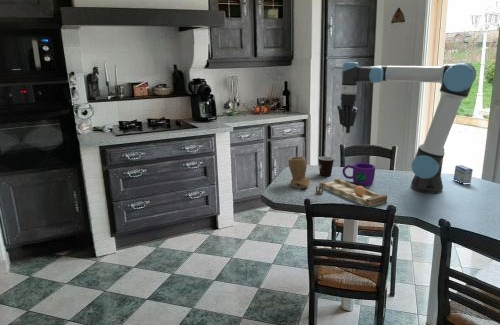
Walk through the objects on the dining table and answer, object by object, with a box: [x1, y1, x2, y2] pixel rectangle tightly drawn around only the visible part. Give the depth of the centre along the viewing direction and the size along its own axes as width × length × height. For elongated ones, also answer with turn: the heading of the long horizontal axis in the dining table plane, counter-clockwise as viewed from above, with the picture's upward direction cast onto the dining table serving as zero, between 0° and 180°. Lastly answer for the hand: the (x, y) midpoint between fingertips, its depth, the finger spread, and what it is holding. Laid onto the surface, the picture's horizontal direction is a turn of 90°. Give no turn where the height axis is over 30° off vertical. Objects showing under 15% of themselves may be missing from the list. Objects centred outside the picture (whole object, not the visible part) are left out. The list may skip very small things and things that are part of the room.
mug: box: [341, 162, 376, 187], centre depth 211 cm, size 17×11×10 cm, turn 59°
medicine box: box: [453, 164, 474, 184], centre depth 211 cm, size 8×4×9 cm, turn 13°
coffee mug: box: [318, 156, 335, 178], centre depth 225 cm, size 12×9×10 cm
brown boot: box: [288, 156, 311, 190], centre depth 207 cm, size 15×12×15 cm
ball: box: [354, 185, 366, 196], centre depth 190 cm, size 5×5×5 cm
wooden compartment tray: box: [318, 177, 388, 207], centre depth 195 cm, size 34×12×4 cm, turn 32°
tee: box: [315, 185, 324, 196], centre depth 196 cm, size 3×3×4 cm
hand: (345, 138), depth 206 cm, fingers closed
